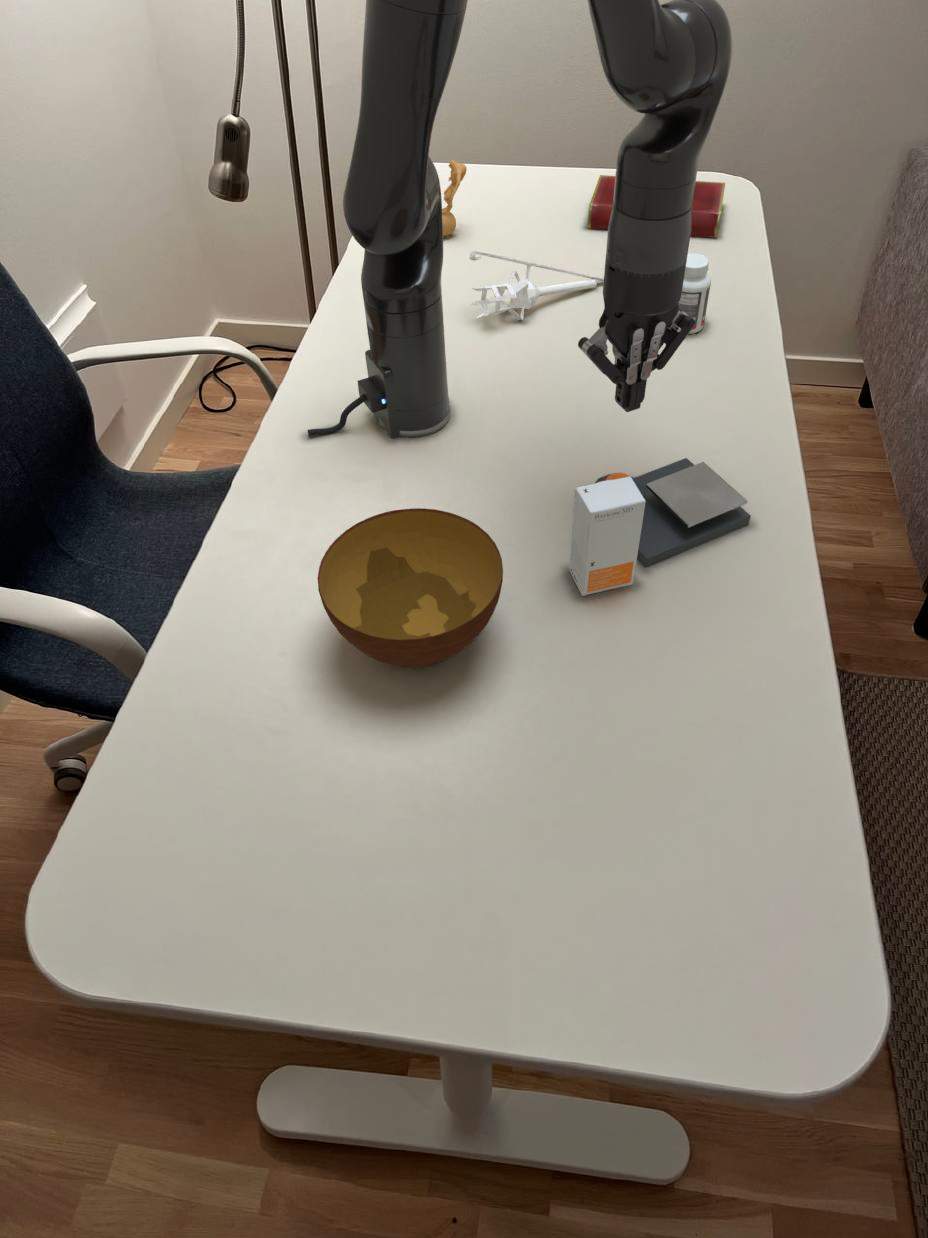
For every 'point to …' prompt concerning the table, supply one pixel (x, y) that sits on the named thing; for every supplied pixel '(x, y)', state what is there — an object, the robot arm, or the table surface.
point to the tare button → (616, 476)
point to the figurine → (456, 177)
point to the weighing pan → (696, 494)
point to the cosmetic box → (606, 535)
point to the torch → (525, 288)
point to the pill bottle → (695, 290)
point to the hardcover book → (702, 215)
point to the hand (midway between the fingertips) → (628, 406)
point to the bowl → (411, 585)
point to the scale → (676, 521)
